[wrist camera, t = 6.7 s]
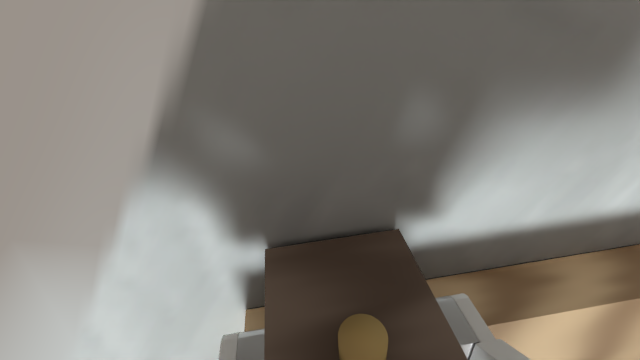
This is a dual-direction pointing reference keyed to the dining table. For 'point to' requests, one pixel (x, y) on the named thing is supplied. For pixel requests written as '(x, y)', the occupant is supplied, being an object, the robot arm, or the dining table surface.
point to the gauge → (352, 303)
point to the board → (552, 305)
